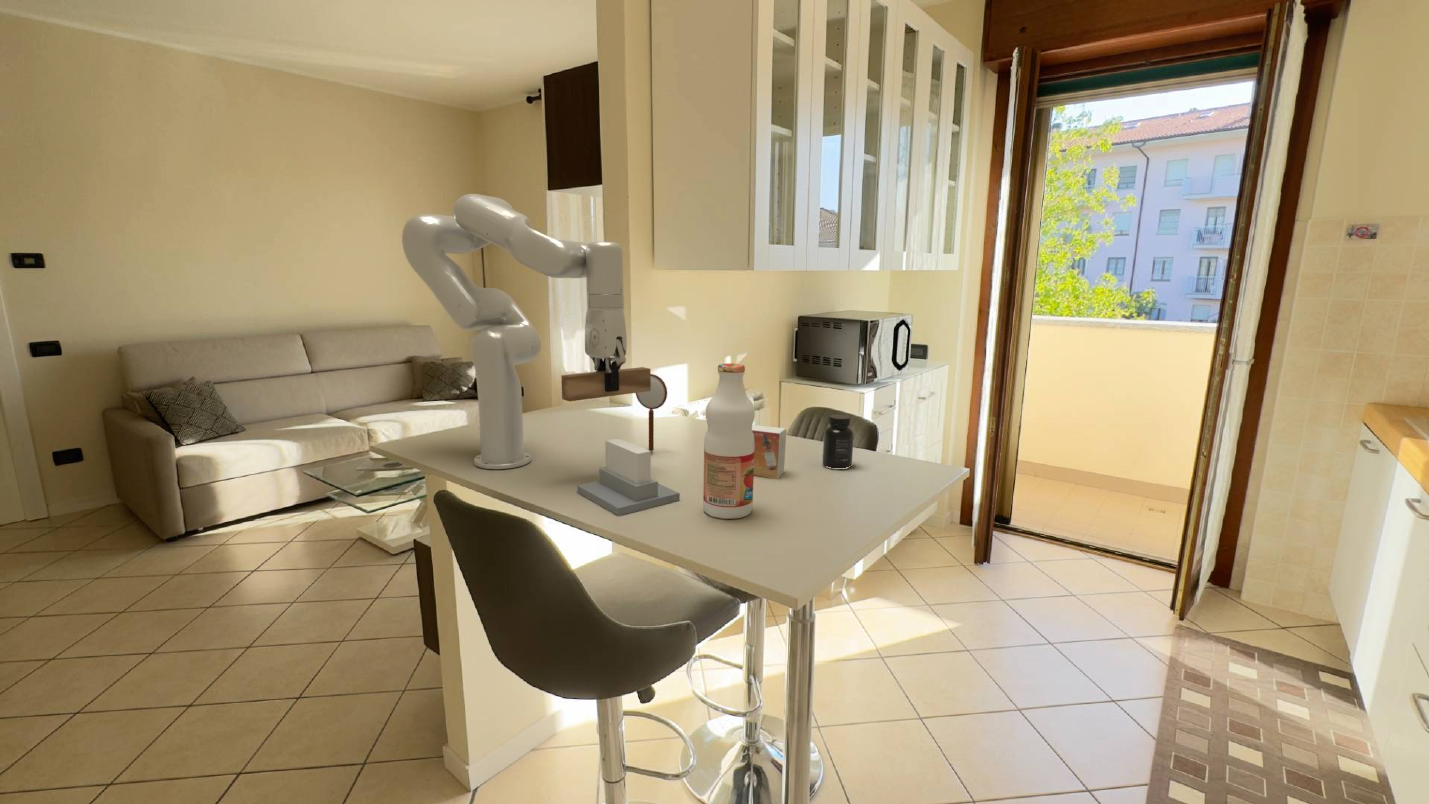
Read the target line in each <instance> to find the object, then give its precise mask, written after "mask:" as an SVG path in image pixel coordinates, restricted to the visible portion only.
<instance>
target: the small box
mask: <svg viewBox="0 0 1429 804" xmlns="http://www.w3.org/2000/svg"><path fill="white" fill-rule="evenodd" d="M752 432H753V435H754V442H755V451H754V476H759V477H765V478H769V479H773V478H777V479H779V477H781V476H782V475H783V473H784V472H785V461H786V457H785V456H786V443H787V442H786V440H787V428H786V427H785V428H784V427H776V426H774V427H773V426H764V425H758V424H753V425H752Z"/></svg>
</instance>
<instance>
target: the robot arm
mask: <svg viewBox="0 0 1429 804" xmlns="http://www.w3.org/2000/svg"><path fill="white" fill-rule="evenodd" d="M452 213H453V216H452V215H447V214H446V215H445V214H439V213H437V214H436V213H421V214H420V213H419V214H417V215H413V216H412V217H410V218H409V219H408V220H407V221H406V222H405V224H404V226H403V229H402V234H401V239H402V240H401V241H402V242H401V243H402V248H403V249H402V250H403V252H404V253H403V254H404V256H405V257H406V260H407V262H408V263H409V266H410V267H411V268H412V269H413V271H414V272H415V273H416V274H417V276H419V279H421V280H422V281H423V282H424V283H425V285H426V286H427V287H428V288H429V289H430V291H431V292H432V293H433V296H434V297H435V298H436V299H437V301H438V302H439V303H440V304H441V306H442V307H443V309H444V310H445V311H446V313H447V314H448V315H449V317H450V318H451V319H452V321H453V322H454V323H455V325H457V326H458V327H459V328H460V329H462V330H464V331H477V332H476V333H475V334H474V336H473V337H472V339H471V342H470V355H471V358H472V359H471V360H472V364H473V367H474V370H475V377H476V388H477V399H478V400H477V403H478V419H479V421H478V422H479V437H480V439H479V442H480V454H478V455H476V456H475V457H474V459H473V464H474V465H475V466H476V467H478V468H481V469H487V470H505V469H506V470H507V469H508V470H509V469H515V468H518V467H522V466H525V465H527V464H529V463H530V462H531V460H532V455H531V453H529V452H527V451H525V450H524V449H525V448H524V447H525V446H524V445H525V443H524V420H523V419H524V417H523V398H522V384H521V381H520V377H519V375H518V372H517V370H516V367H515V366H518V365H523V364H527V363H530V362H532V361H534V360H535V359H536V358H538V356H539V354H540V352H541V349H542V343H541V338H540V335H539V333H538V331H537V329H536V328H535V327H534V325H533V323H532V322H531V321H530V320H529V319H528V317H527V316H526V314H524V312H523V310H522V309H521V308H520V307H519V305H518V304H517V303H516V301H515V300H514V299H513V298H512V296H510V295H509V294H508V293H507V292H505V291H503V290H502V289H500V288H496V287H495V288H494V287H480V286H477V285H476V283H474V282H473V281H472V280H471V278H470V277H469V275H468V274H467V273H466V271H465V270H464V269H463V268H462V267H461V266H460V265H459V264H458V263H457V262H456V261H454V260H453V259H451V258H450V256H448V255H447V254H456V255H465V254H471V253H473V252H476V251H478V250H479V249H482V248H484V247H486V246H488V245H490V244H492V245H494V246H497V247H498V248H500V249H503V250H504V251H507V252H508V253H509V255H510V256H511V257H512V258H513V259H514V260H515V261H517V262H518V263H520V264H521V265H523V266H524V267H528V268H529V269H531V270H533V271H535V272H537V273H539V274H541V275H544V276H547V277H550V278H552V279H553V278H555V279H563V278H564V279H568V278H569V279H585V280H586V299H587V300H586V301H587V302H586V306H587V309H586V312H585V324H584V352H585V354H586V355H587V356H588V357H589V358H590V359H591V360H592V362H593V364H594V370H595V371H594V372H599V371H606V372H607V373H605V391H606V392H612V391H618V390H619V372H620V369H621V367H622V365H624V364H625V363H626V362H627V359H626V356H627V351H628V345H627V344H628V343H627V342H628V341H627V340H628V339H627V329H626V319H625V314H624V310H625V309H624V308H625V306H624V304H625V303H624V302H625V299H624V261H623V260H624V259H623V257H624V255H623V254H624V253H623V247H622V246H621V244H620V243H619V242H614V241H593V242H592V241H591V242H589V243H587V242H580V241H572V240H564V239H562V240H561V239H556V238H553V237H550V236H548V235H546V234H543V233H542V232H539V231H538V230H535V229H534V228H533V227H532V226H533V225H532V221H530V219H529V217H528V216H526V215H525V214H524V213H521V212H518V211H516V210H514V208H513V207H512V205H511V204H510V203H508V201H506V200H504V199H503V198H501V197H500V198H499V197H495V196H490V195H483V194H479V193H469V194H464V195H462V196H461V197H459V198H458V199H457V200H456V202H455V203H454V205H453V210H452Z"/></svg>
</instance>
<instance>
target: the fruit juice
mask: <svg viewBox="0 0 1429 804" xmlns="http://www.w3.org/2000/svg"><path fill="white" fill-rule="evenodd" d="M745 371H746V367H745V365H744V364H741V363H730V362H729V363H727V362H726V363H720V364H718V366H717V373H718V375H719V379H718V384H717V387H716V390H715V392H714V395H713V397H711V399H710V400H709V402H707V405H706V407H705V420H706V423H707V429H706V431H705V436H704V440H703V441H704V443H703V484H702V485H703V488H702V489H703V490H702V491H703V492H702V494H703V495H702V497H703V498H702V505H703V511H704V512H705V513H706V514H707V516H708V515H709V516H710V517H714V518H718V519H721V520H722V519H723V520H734V519H736V520H737V519H741V518H745V517H747V516H749V515H750V514H751V513H752V510H753V502H754V501H753V500H754V496H753V495H754V476H755V475H754V451H755V442H754V435H753V432H752V425H754V421H755V416H756V413H755V412H756V411H755V407H754V404H753V402H752V401H751V400H750V398H749V397H748V394H747V393H746V389H745V385H744V379H743V378H744V375H745Z"/></svg>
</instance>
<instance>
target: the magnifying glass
mask: <svg viewBox="0 0 1429 804" xmlns="http://www.w3.org/2000/svg"><path fill="white" fill-rule="evenodd" d="M650 375H651V391H647V392H639V393H635V397H636V399H637V401H638V402H639V404H640V405H641V406H642V407H644V408H646V409H649V410H648V450H649V451H651V455H652V454H653V453H654V452H653V451H654V449H655V447H654V441H655V439H654V438H655V437H654V434H655V433H654V429H655V428H654V425H655V424H654V422H655V421H654V418H655V417H654V416H655V415H654V410H657V409H660V408H661V407H663V405H664V404H665V403H666V401H667V397H668V388H667V386H666V383H665V381H664V380H663V379H662V378H661V377H660V376H658V375H656V374H653V373H650Z"/></svg>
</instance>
